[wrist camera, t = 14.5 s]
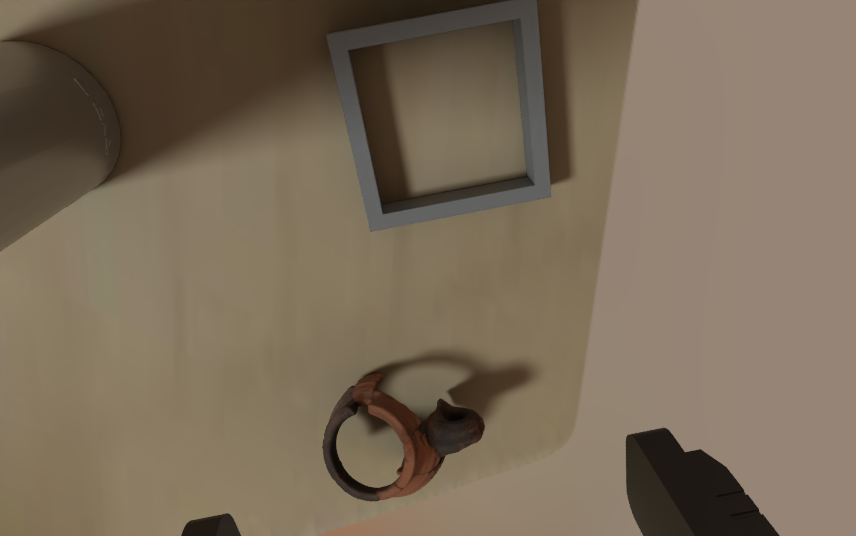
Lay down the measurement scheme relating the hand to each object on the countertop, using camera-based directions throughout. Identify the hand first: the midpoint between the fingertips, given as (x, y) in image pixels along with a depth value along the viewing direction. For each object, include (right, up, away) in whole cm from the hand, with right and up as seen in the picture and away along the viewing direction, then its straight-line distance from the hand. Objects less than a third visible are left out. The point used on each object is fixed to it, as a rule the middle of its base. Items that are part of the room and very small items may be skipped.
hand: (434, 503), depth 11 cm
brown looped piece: (-2, -7, +34) cm, 35 cm away
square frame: (+1, +14, +25) cm, 28 cm away
